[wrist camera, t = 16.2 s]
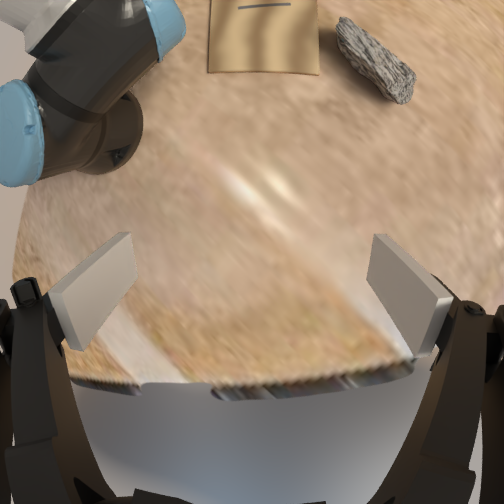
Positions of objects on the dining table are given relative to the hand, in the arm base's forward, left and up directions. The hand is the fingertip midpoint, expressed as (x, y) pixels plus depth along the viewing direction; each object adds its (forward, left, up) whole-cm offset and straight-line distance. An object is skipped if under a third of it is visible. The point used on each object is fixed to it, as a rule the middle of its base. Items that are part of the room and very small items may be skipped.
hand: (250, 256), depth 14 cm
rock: (+17, +20, -29) cm, 39 cm away
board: (+1, +30, -29) cm, 41 cm away
